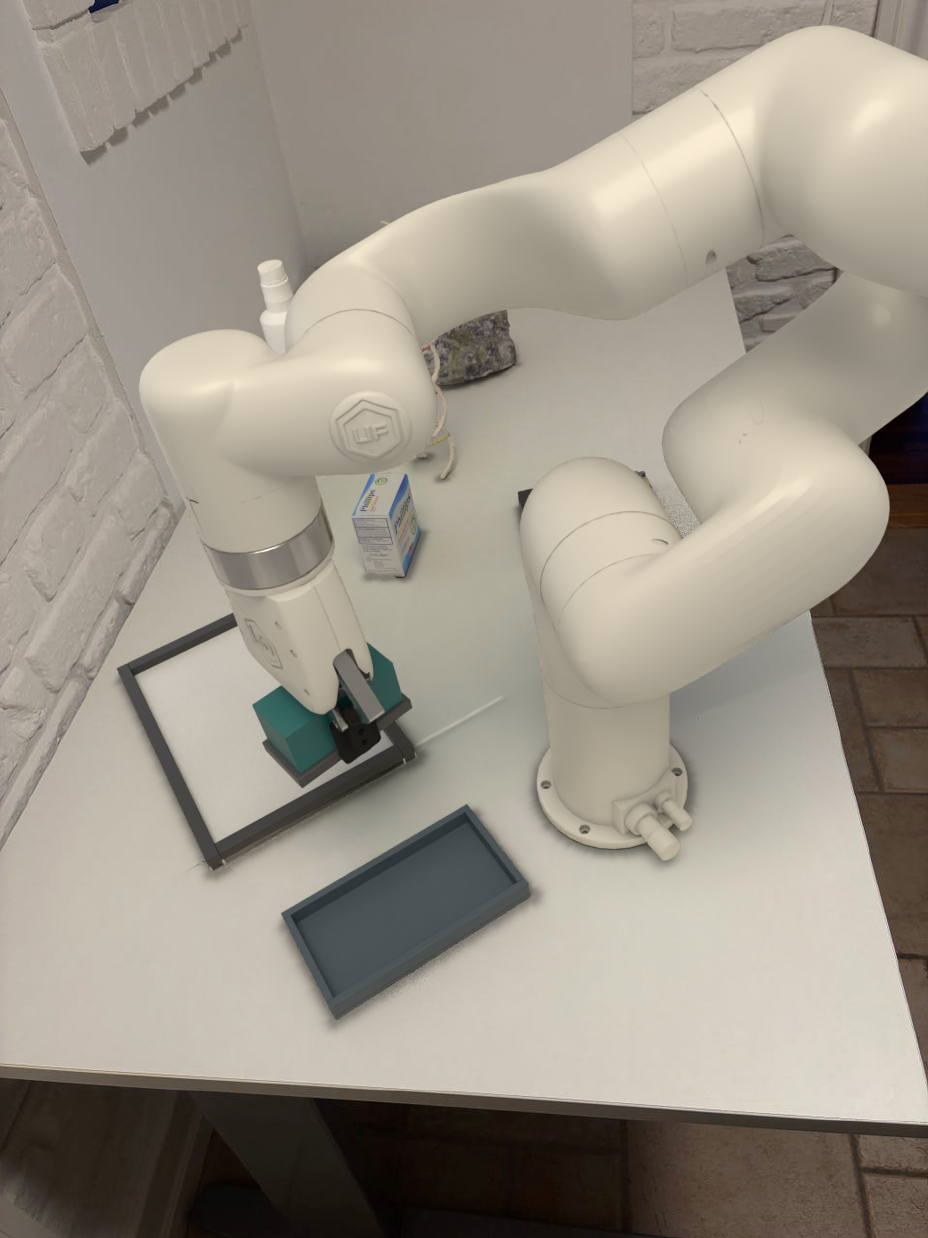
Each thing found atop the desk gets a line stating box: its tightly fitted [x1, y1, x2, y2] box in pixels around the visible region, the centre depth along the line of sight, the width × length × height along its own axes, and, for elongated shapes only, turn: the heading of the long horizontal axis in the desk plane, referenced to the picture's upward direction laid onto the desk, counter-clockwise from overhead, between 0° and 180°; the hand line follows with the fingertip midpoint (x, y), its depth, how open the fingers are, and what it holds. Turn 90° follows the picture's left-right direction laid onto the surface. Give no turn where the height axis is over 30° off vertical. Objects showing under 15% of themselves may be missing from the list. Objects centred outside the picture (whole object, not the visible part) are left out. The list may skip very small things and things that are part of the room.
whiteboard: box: [116, 612, 417, 873], centre depth 92 cm, size 28×20×2 cm
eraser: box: [252, 641, 413, 788], centre depth 68 cm, size 10×5×5 cm, turn 131°
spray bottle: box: [257, 259, 295, 354], centre depth 134 cm, size 7×7×18 cm
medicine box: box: [350, 472, 421, 578], centre depth 105 cm, size 8×4×9 cm, turn 168°
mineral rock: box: [423, 310, 517, 386], centre depth 132 cm, size 13×11×10 cm
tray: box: [280, 804, 531, 1021], centre depth 75 cm, size 9×17×2 cm, turn 121°
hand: (339, 727), depth 70 cm, fingers closed on eraser, 5 cm apart
